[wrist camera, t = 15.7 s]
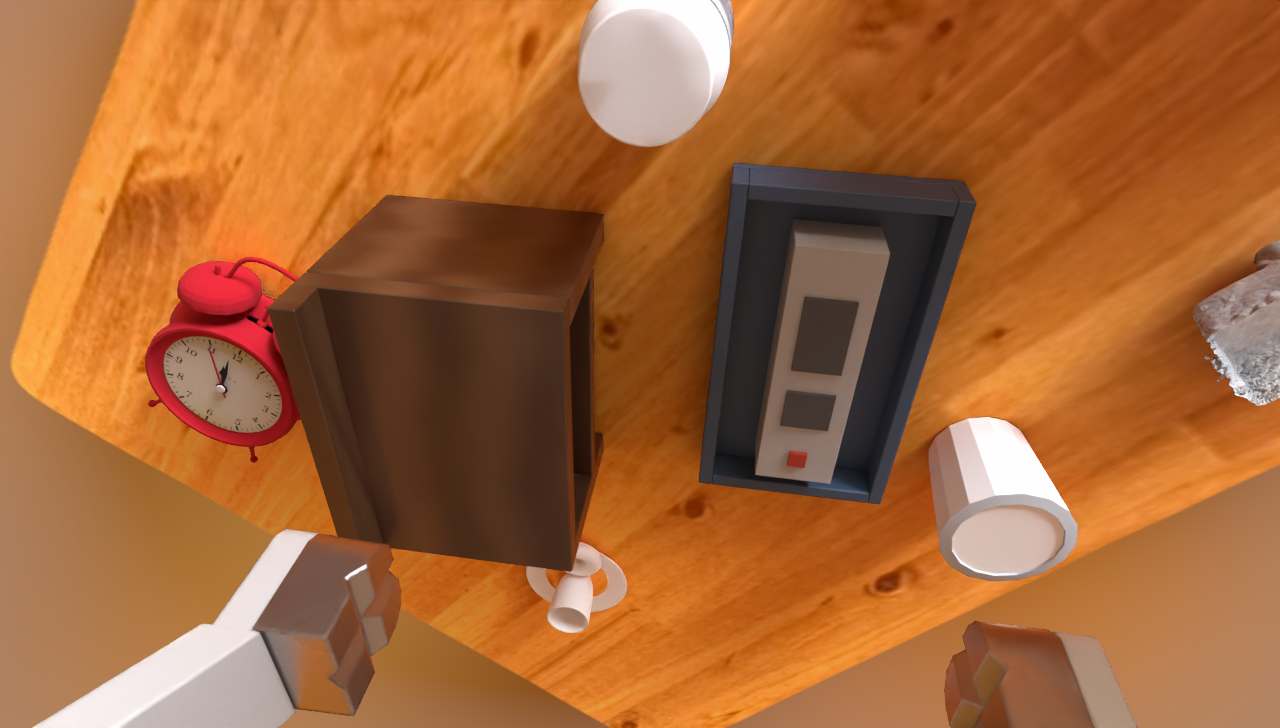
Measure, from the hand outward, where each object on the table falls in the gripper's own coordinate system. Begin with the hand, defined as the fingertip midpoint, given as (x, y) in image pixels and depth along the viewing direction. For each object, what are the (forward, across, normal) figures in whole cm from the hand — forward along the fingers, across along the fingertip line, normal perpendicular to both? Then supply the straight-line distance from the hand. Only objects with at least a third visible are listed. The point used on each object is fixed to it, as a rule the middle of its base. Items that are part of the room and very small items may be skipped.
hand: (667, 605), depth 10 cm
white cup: (+29, -17, +21) cm, 40 cm away
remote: (+28, -6, +14) cm, 32 cm away
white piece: (+30, +5, +37) cm, 48 cm away
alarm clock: (+29, +28, +18) cm, 44 cm away
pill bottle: (+29, +3, -2) cm, 30 cm away
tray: (+29, -6, +14) cm, 33 cm away
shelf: (+29, +12, +16) cm, 35 cm away
